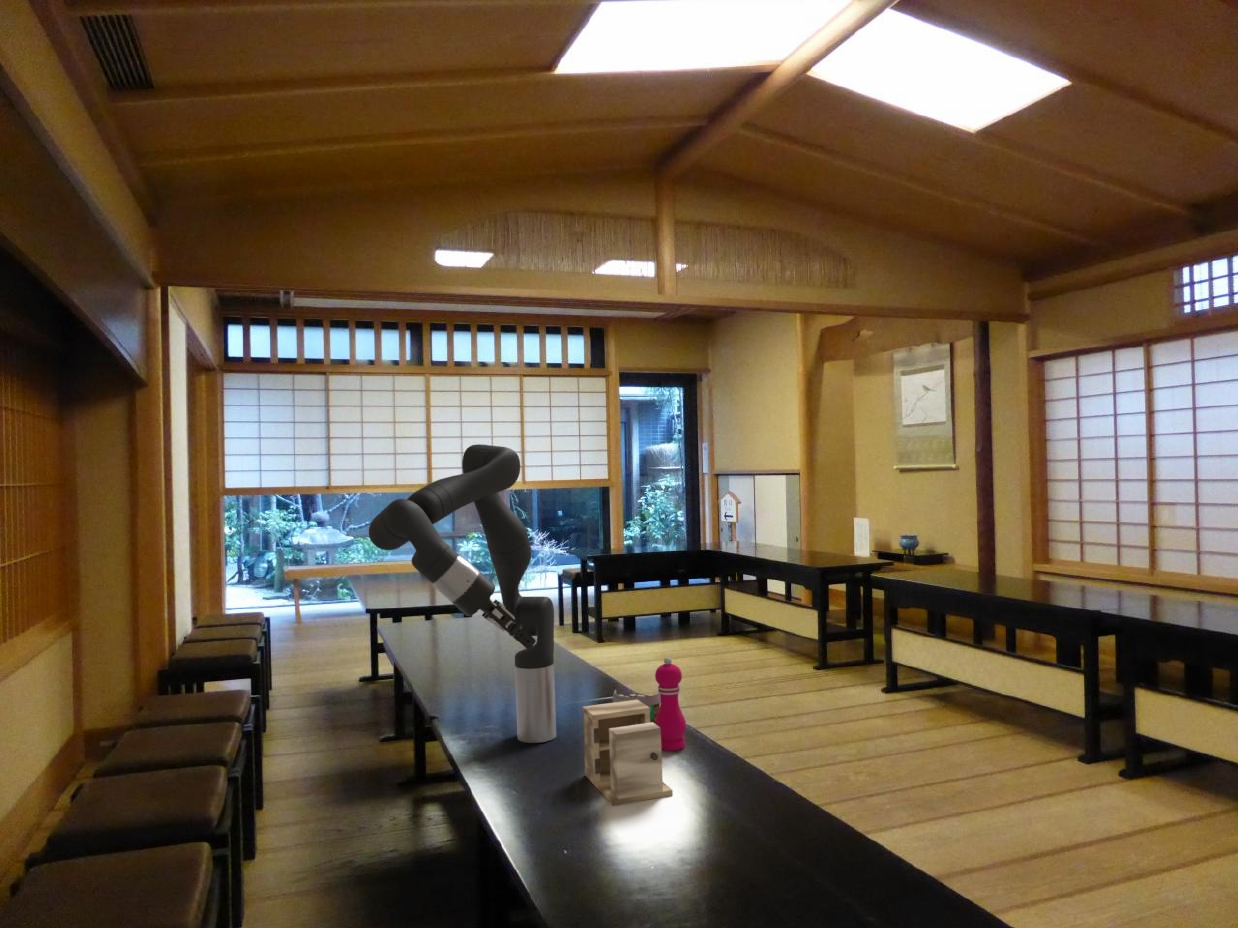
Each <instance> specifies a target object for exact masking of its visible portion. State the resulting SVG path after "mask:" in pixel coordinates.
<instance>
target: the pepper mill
mask: <svg viewBox="0 0 1238 928" xmlns="http://www.w3.org/2000/svg"><path fill="white" fill-rule="evenodd" d="M672 662H673V660H672V658H671V657H670V656H667V657H665V658H664V659H663V663H664V664H663V663H662V664H661V665H659V666H658V667H657V668H656V670H655V673H654V675H655V676H654V678H655V681H656V682H657V684H658V686H657V689H658V691H657V692H658V693H660V698H661V703H660V709H659V712H658V714H657V717H656V720H655V724H656V725H657V726H659V727H660V728H661V751H665V752H667V751H668V752H669V751H670V752H672V751H673V752H674V751H680V750H682V749H684V748H685V747H686V739H685V738H686V737H684V734H685V733H686V731H687V722H686V721H687V720H686V719H685V715H684V714H683V712H682V710H681V707H680V704H679V703H680V702H679V694H680V693H681V689H680V688H681V685H680V682H681V681H682V678H683V674H682V671H681V669H680V667H679V666H678V665H676V664H673V663H672ZM658 693H657V694H658Z"/></svg>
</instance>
